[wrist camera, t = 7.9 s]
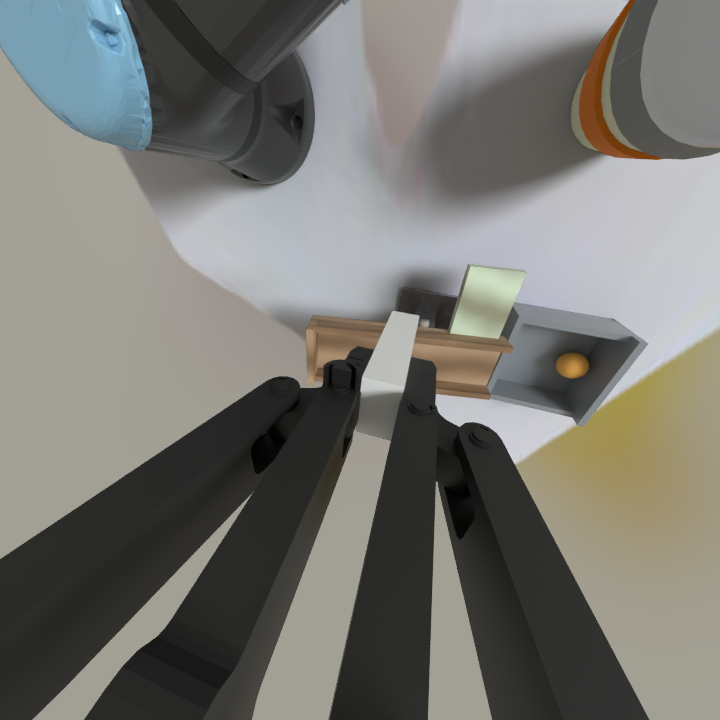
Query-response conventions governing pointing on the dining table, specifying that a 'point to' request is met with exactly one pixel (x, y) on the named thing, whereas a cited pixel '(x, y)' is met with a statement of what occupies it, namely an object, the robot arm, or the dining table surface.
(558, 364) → the ball
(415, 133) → the dining table surface
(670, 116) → the reusable coffee cup
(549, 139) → the dining table surface
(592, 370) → the grey tray
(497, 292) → the chute
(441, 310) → the stand
